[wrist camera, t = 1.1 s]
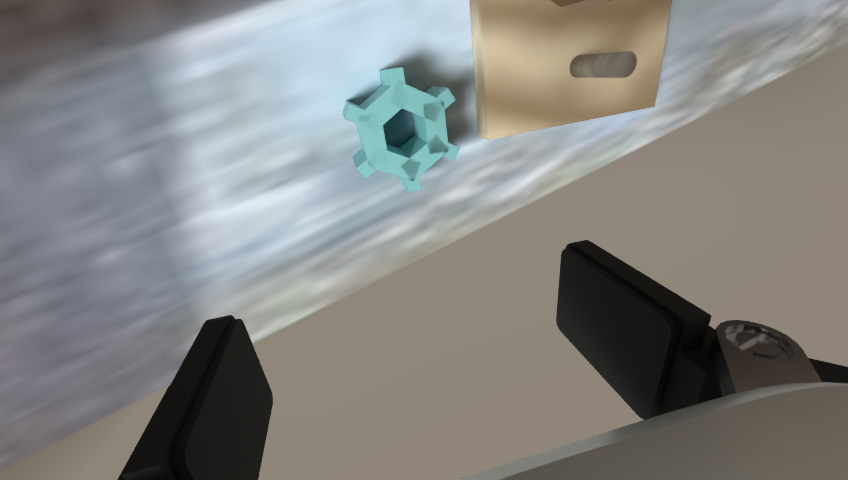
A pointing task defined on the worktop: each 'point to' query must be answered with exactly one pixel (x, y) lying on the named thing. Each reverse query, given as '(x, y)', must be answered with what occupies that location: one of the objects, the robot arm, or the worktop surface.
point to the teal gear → (427, 127)
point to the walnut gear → (566, 2)
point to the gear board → (563, 61)
